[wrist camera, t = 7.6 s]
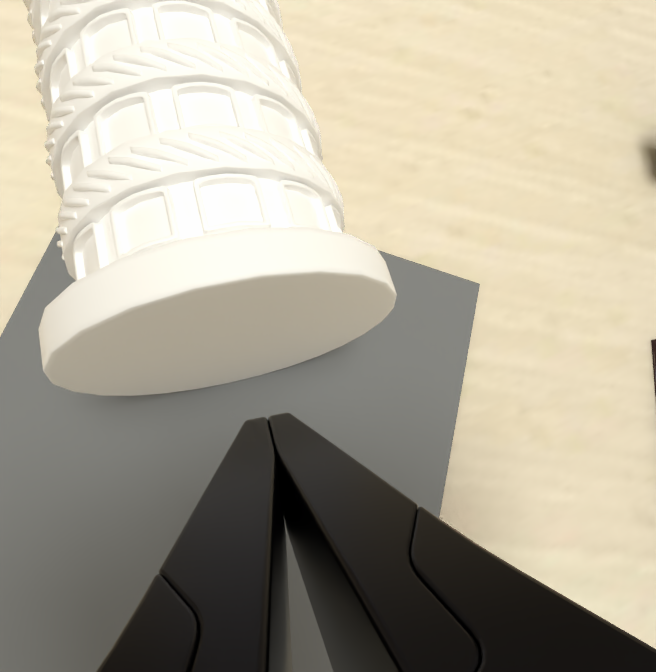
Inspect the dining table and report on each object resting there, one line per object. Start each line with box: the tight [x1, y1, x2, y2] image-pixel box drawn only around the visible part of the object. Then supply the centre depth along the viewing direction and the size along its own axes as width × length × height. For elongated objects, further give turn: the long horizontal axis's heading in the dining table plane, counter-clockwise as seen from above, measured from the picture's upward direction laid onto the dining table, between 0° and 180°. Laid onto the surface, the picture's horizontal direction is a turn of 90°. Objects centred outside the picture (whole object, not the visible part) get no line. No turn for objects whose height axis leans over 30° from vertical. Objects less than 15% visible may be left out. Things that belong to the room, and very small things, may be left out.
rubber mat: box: [0, 232, 480, 672], centre depth 19 cm, size 28×22×1 cm
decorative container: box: [23, 0, 397, 396], centre depth 17 cm, size 12×12×18 cm
